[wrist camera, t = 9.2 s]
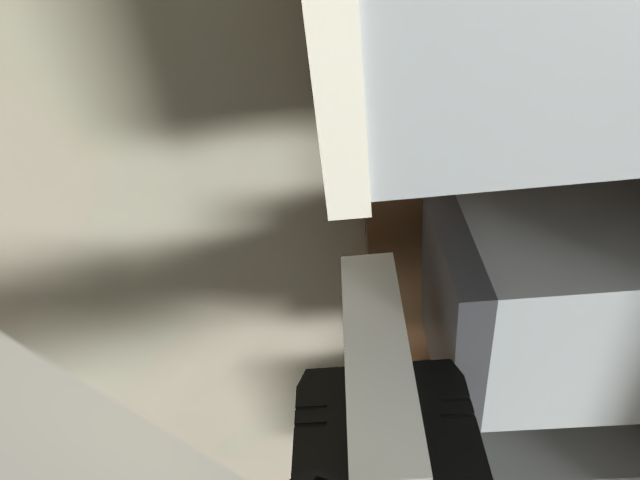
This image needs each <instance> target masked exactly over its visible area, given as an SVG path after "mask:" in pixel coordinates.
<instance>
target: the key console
mask: <svg viewBox="0 0 640 480" xmlns="http://www.w3.org/2000/svg"><path fill="white" fill-rule="evenodd" d="M371 211H372V217H369V218H365V227H366V242H367V254H379V253H391V252H393V256H394V262H395V267H396V273H397V279H398V284H399V290H400V296H401V301H402V307H403V312H404V318H405V324H406V329H407V335H408V340H409V346H410V352H411V357H412V361H424V360H430V355H429V351H428V346H427V342H426V337H425V332H424V328H423V323H422V318H421V305H422V215H423V198H412V199H401V200H390V201H378V202H371Z"/></svg>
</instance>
